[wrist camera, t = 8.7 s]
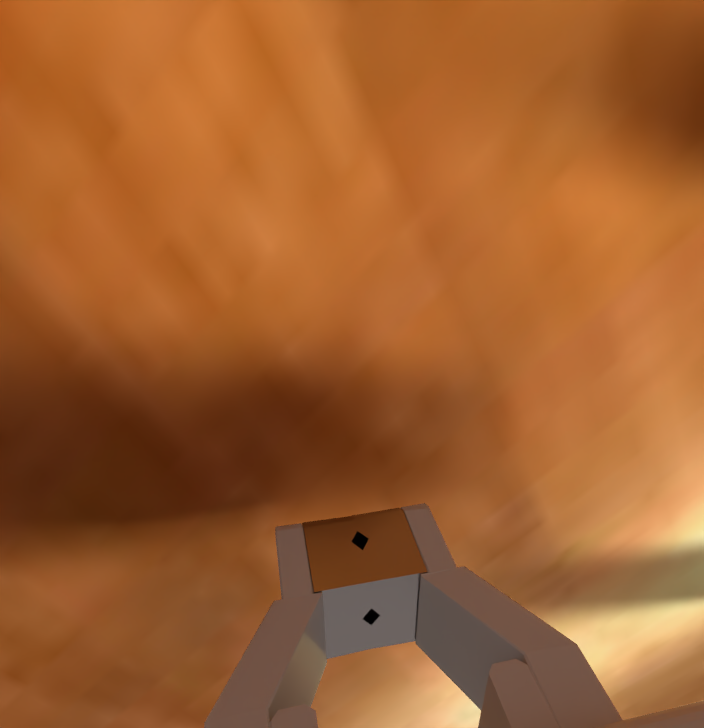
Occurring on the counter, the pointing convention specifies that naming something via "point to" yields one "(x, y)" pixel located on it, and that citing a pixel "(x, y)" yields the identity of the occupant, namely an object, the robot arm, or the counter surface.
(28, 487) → the counter surface
